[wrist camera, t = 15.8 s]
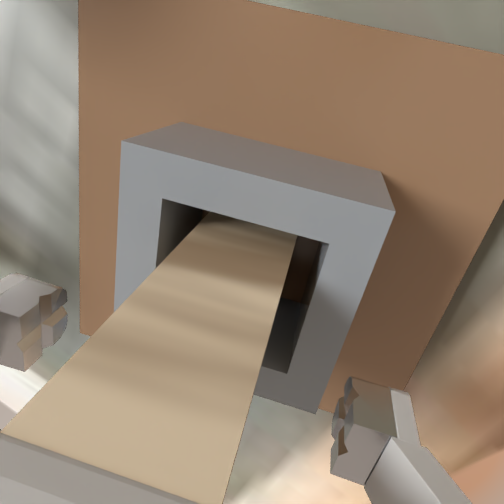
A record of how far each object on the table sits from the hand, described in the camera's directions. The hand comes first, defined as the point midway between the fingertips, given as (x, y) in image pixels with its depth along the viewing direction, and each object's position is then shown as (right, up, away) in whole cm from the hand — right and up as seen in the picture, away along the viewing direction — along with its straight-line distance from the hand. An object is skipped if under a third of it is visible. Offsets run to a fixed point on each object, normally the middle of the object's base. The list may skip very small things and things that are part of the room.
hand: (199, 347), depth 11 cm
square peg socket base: (+2, +4, +8) cm, 9 cm away
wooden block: (+2, +3, +7) cm, 8 cm away
